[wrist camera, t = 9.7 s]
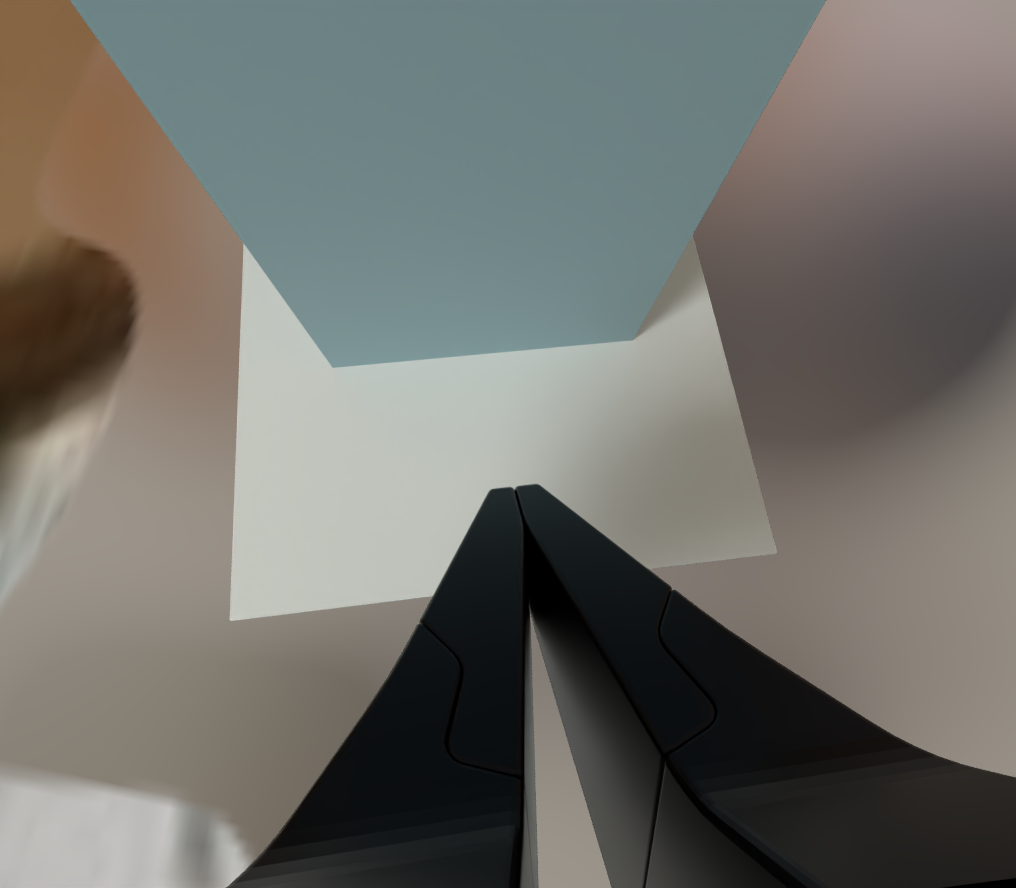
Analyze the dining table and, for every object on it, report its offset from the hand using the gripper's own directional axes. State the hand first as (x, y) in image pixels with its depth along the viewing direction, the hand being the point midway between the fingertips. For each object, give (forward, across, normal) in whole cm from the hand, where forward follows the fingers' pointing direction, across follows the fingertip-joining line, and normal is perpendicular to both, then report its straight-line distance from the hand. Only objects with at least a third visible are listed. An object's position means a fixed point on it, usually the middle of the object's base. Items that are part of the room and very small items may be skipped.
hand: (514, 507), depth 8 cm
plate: (+10, 0, 0) cm, 10 cm away
